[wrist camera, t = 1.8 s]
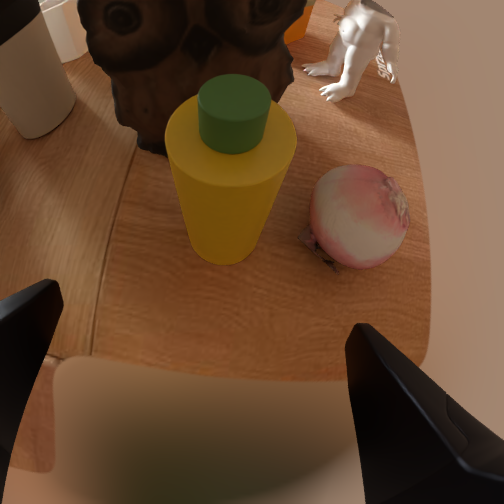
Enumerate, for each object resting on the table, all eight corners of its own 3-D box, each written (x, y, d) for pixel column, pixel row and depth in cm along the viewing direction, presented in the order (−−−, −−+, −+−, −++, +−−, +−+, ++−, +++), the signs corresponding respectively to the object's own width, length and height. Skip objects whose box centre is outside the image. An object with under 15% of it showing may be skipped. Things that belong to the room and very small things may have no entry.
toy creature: (289, 55, 30) (311, -22, 18) (329, 54, 31) (357, -15, 20) (336, 121, 27) (382, 33, 16) (378, 117, 28) (427, 43, 17)
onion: (384, 276, 23) (437, 253, 16) (299, 280, 22) (334, 255, 15) (369, 191, 25) (409, 150, 18) (290, 187, 24) (314, 135, 17)
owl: (286, 116, 26) (347, -69, 7) (204, 205, 23) (196, -73, 4) (190, 68, 27) (190, -91, 8) (105, 138, 24) (37, -45, 5)
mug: (94, 27, 30) (83, -19, 20) (104, 45, 28) (91, -9, 19) (29, 62, 27) (9, 20, 17) (29, 87, 25) (4, 38, 16)
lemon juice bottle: (268, 252, 22) (336, 137, 9) (201, 275, 21) (176, 175, 8) (244, 192, 24) (274, 48, 10) (180, 211, 22) (147, 70, 9)
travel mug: (63, 135, 23) (-7, 0, 6) (12, 145, 22) (-62, 40, 5) (85, 84, 26) (45, -37, 8) (36, 96, 25) (-13, -6, 8)
